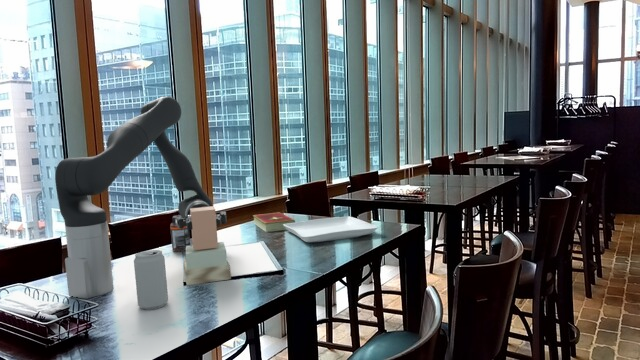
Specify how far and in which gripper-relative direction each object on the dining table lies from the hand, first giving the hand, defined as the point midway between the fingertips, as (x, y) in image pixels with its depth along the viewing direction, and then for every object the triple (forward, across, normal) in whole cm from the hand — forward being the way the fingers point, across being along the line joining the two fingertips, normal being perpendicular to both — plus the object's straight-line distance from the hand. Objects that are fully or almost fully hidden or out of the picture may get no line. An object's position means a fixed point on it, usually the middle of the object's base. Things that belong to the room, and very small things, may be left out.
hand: (204, 224), depth 124 cm
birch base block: (-2, 0, +15) cm, 15 cm away
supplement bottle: (-38, -5, +15) cm, 41 cm away
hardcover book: (-61, +31, +15) cm, 70 cm away
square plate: (-35, +46, +15) cm, 59 cm away
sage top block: (-3, 0, +11) cm, 11 cm away
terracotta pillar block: (-2, 0, +6) cm, 7 cm away
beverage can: (+15, -13, +14) cm, 25 cm away
